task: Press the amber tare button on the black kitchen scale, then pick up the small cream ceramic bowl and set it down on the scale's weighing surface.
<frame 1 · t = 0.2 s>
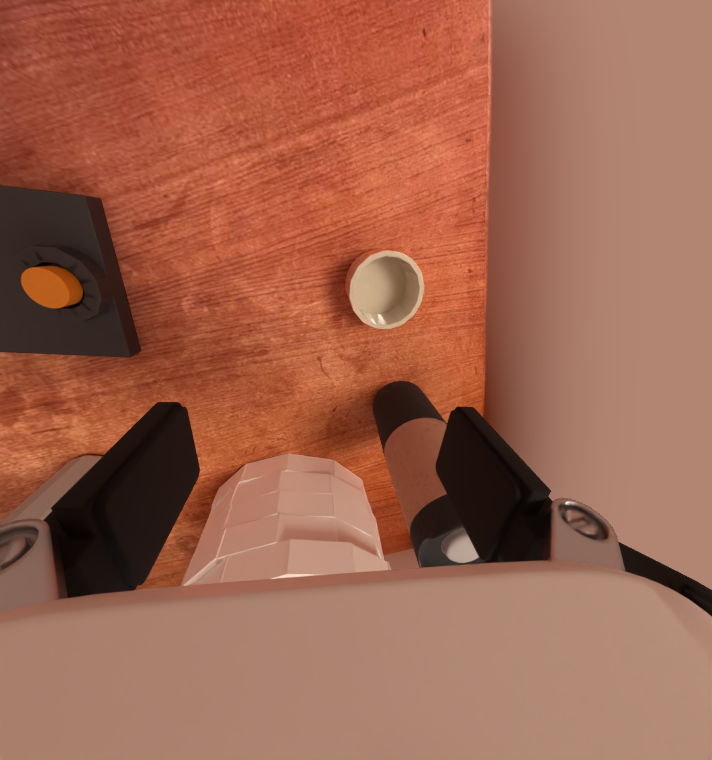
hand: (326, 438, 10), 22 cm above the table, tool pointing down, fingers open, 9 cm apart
scale: (27, 276, 25), on the table
travel mug: (398, 403, 37), on the table
container: (299, 507, 44), on the table
water bottle: (107, 467, 36), on the table
tare button: (53, 287, 23), point 4 cm above the table, slide at 0.1 cm
bowl: (377, 284, 30), on the table
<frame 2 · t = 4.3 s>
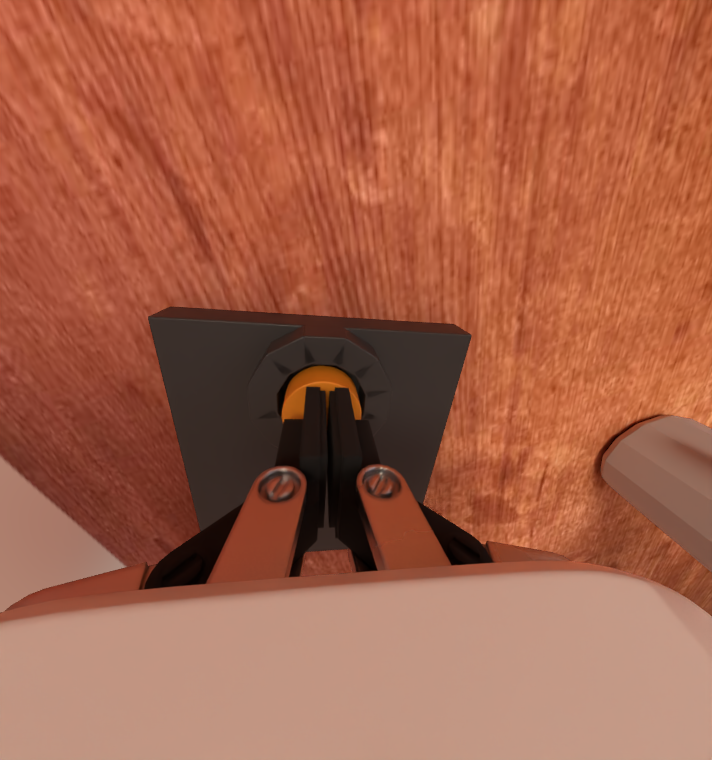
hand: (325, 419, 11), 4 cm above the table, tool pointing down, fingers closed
scale: (318, 442, 17), on the table
water bottle: (634, 438, 21), on the table
tare button: (322, 406, 12), point 4 cm above the table, slide at -0.1 cm, touching gripper
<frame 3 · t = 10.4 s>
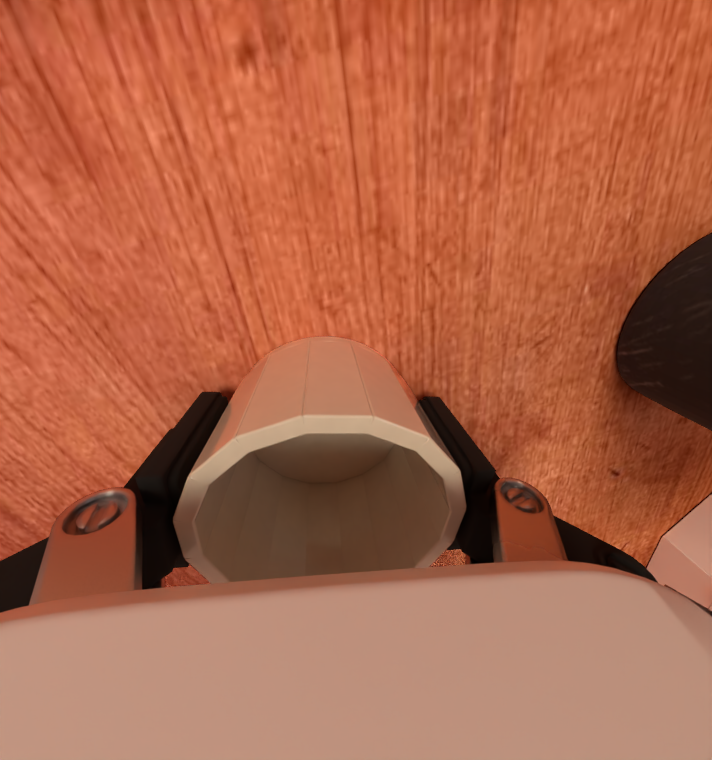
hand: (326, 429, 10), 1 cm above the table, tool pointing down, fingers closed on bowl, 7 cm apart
travel mug: (695, 317, 11), on the table
bowl: (325, 417, 11), on the table, touching gripper
when the fingers open (3 cm above the table, at t = 19.6 s): bowl stays where it is, resting on scale.
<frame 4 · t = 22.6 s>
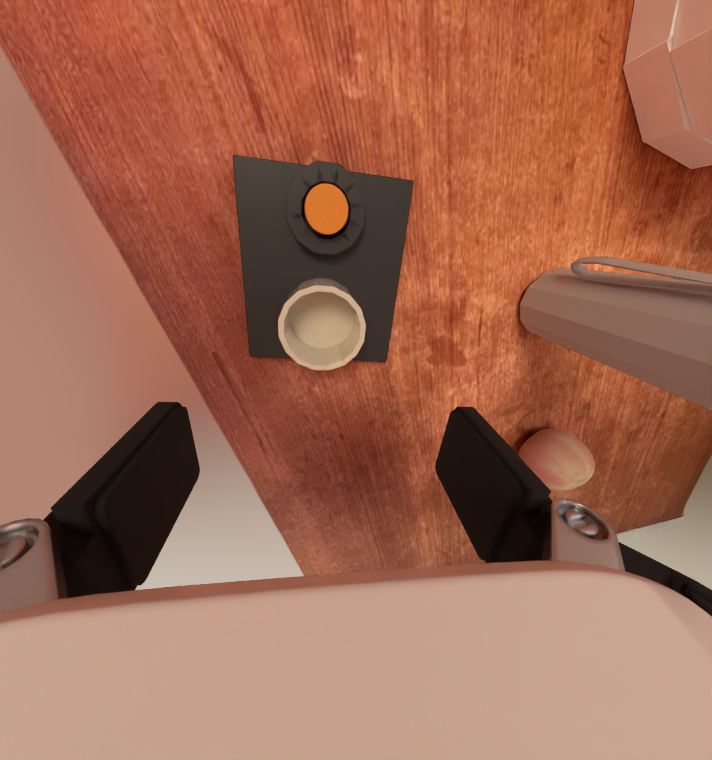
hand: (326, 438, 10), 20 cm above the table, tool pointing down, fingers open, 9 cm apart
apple: (531, 438, 40), on the table
scale: (323, 275, 26), on the table
water bottle: (542, 293, 30), on the table
tare button: (326, 210, 21), point 4 cm above the table, slide at 0.1 cm
bowl: (322, 315, 26), point 2 cm above the table, touching scale
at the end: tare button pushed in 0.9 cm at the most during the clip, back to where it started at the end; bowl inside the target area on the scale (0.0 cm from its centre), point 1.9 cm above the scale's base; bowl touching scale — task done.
